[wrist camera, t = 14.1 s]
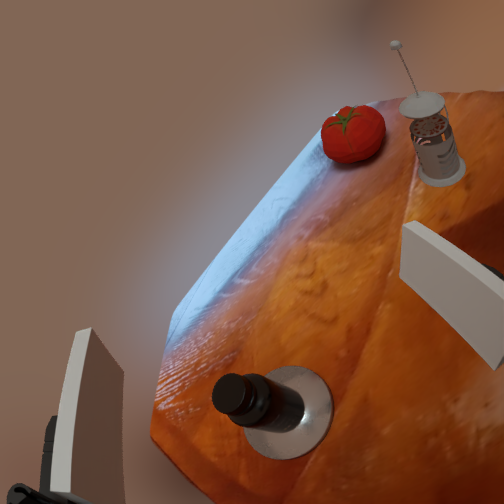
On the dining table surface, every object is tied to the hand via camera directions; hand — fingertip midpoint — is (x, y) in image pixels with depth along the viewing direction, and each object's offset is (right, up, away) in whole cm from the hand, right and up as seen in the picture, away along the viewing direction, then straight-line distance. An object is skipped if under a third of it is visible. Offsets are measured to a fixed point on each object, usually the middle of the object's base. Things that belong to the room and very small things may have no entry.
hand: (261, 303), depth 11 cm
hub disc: (+5, -21, +26) cm, 34 cm away
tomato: (+24, +25, +51) cm, 61 cm away
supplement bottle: (+4, -20, +26) cm, 33 cm away
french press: (+35, +18, +34) cm, 51 cm away
